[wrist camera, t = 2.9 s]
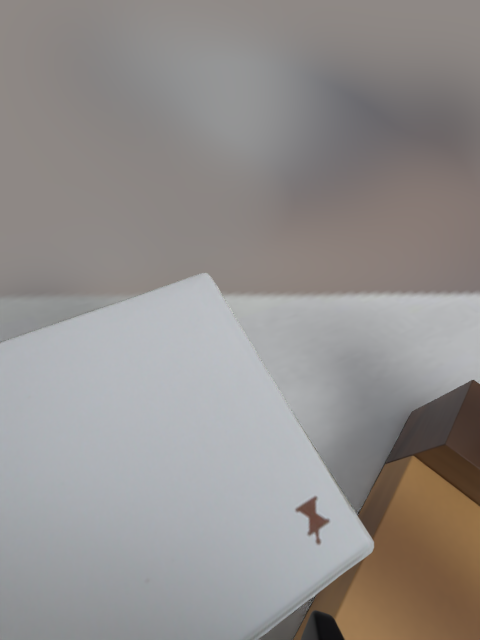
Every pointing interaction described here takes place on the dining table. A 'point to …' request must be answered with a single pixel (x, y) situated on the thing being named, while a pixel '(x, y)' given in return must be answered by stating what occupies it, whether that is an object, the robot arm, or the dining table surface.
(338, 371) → the dining table surface
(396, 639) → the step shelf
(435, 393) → the dining table surface
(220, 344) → the white packaging box
